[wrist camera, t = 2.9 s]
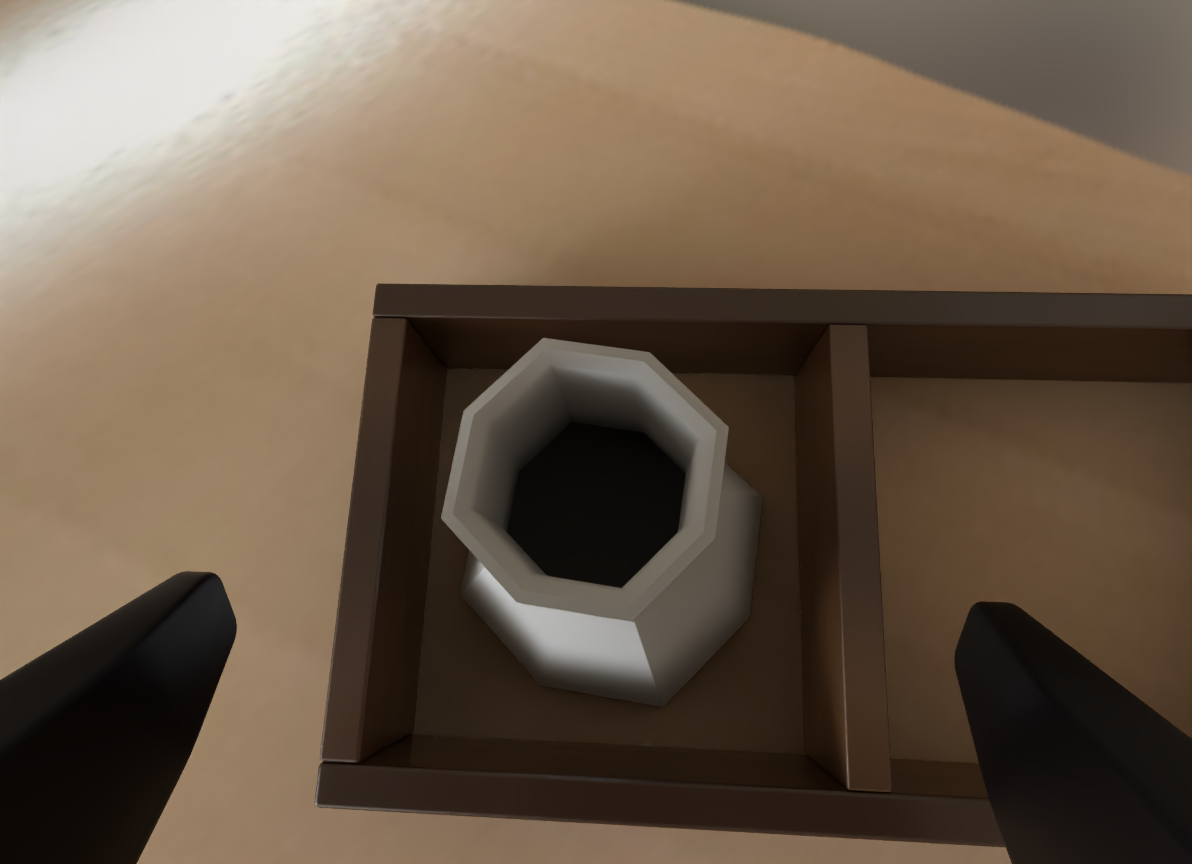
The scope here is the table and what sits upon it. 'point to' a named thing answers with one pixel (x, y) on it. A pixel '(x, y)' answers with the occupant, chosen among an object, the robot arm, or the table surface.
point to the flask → (602, 522)
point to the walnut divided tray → (825, 523)
